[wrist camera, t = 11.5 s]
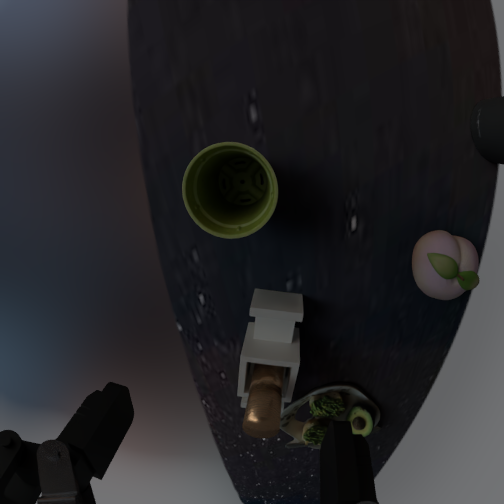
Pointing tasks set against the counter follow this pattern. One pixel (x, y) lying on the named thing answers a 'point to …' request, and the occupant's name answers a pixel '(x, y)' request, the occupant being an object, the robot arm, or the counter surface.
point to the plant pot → (230, 190)
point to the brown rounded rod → (264, 401)
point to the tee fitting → (272, 339)
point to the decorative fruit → (444, 265)
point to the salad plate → (330, 414)
